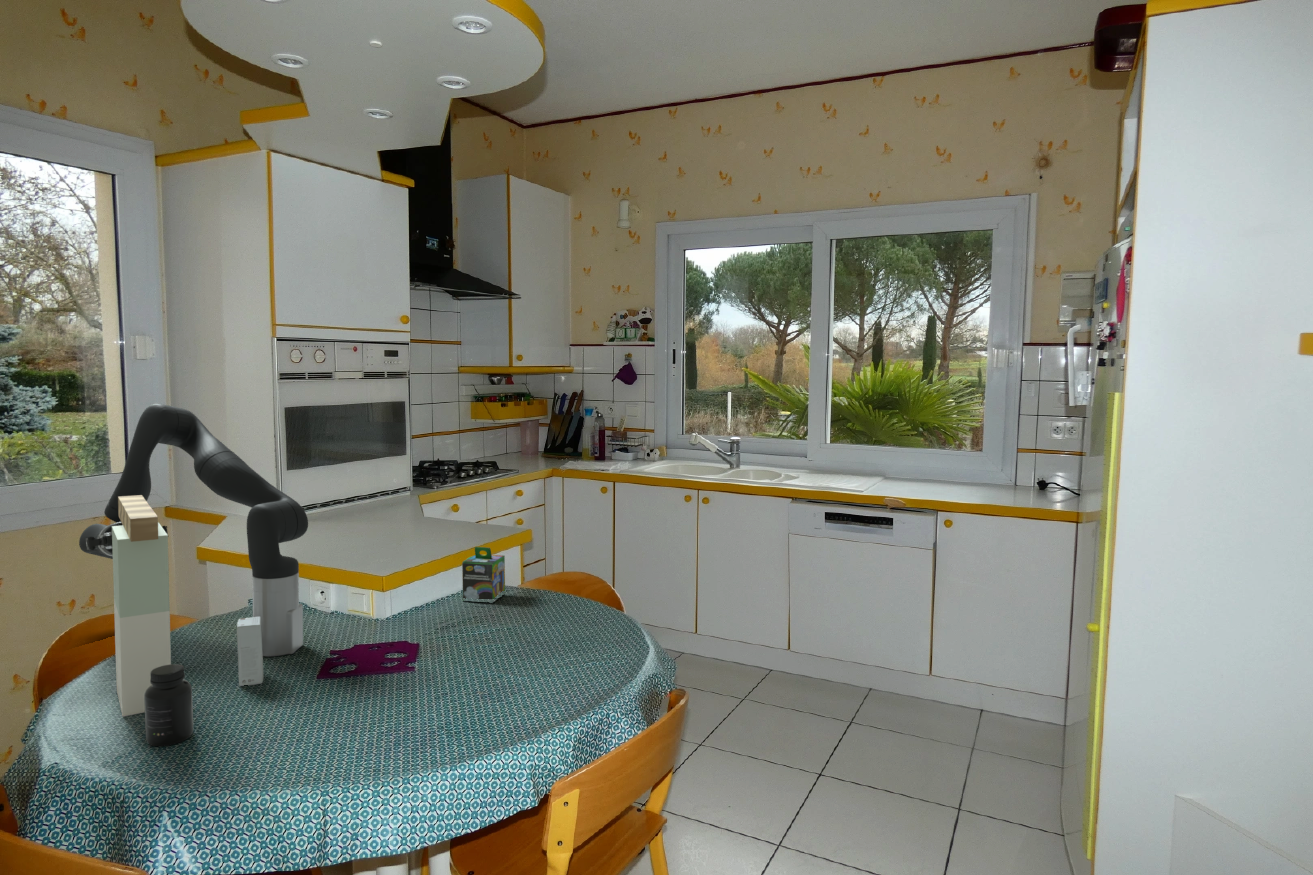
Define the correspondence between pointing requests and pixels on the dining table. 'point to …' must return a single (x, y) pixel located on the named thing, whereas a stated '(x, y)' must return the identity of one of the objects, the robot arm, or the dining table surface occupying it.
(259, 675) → the skincare box
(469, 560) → the chalk box
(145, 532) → the beam
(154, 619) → the tower
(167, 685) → the supplement bottle
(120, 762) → the dining table surface
